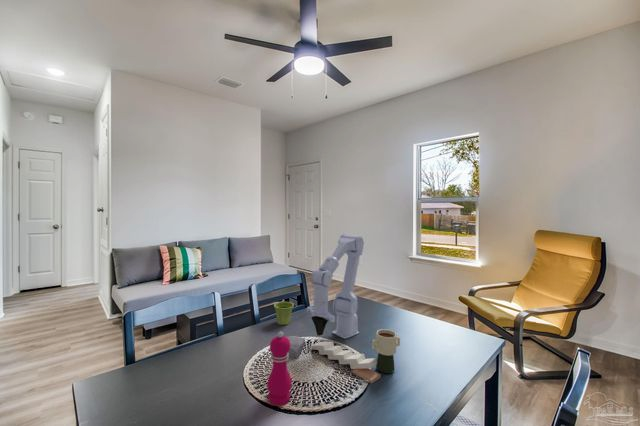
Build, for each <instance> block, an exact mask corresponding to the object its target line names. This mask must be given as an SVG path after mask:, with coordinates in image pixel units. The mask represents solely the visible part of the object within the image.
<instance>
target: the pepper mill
mask: <svg viewBox="0 0 640 426" xmlns="http://www.w3.org/2000/svg"><path fill="white" fill-rule="evenodd" d="M287 337H288V336H284V332H283V331H279V332H277V336H274V337H273V338H272V339H271V341H270V343H269V349H270V352H271V353H270V355H271V357H270V359H271V360H272V369H271V372H270V373H269V376H268V378H267V383H266V389H267V391H268V402H269V403H270V404H271V405H272V406H283V405H285V404H287V403H288V402H289V401H290V398H291V391H290V390H291V389H292V387H293V386H292V385H293V382H292V378H291V374H290V372H289V369H288V366H287V365H288V364H287V362H288V359H290V357H289V356H288V355H289V353H288V351H289V350H290V346H291V345H290V341H289V339H288V338H287Z"/></svg>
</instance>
